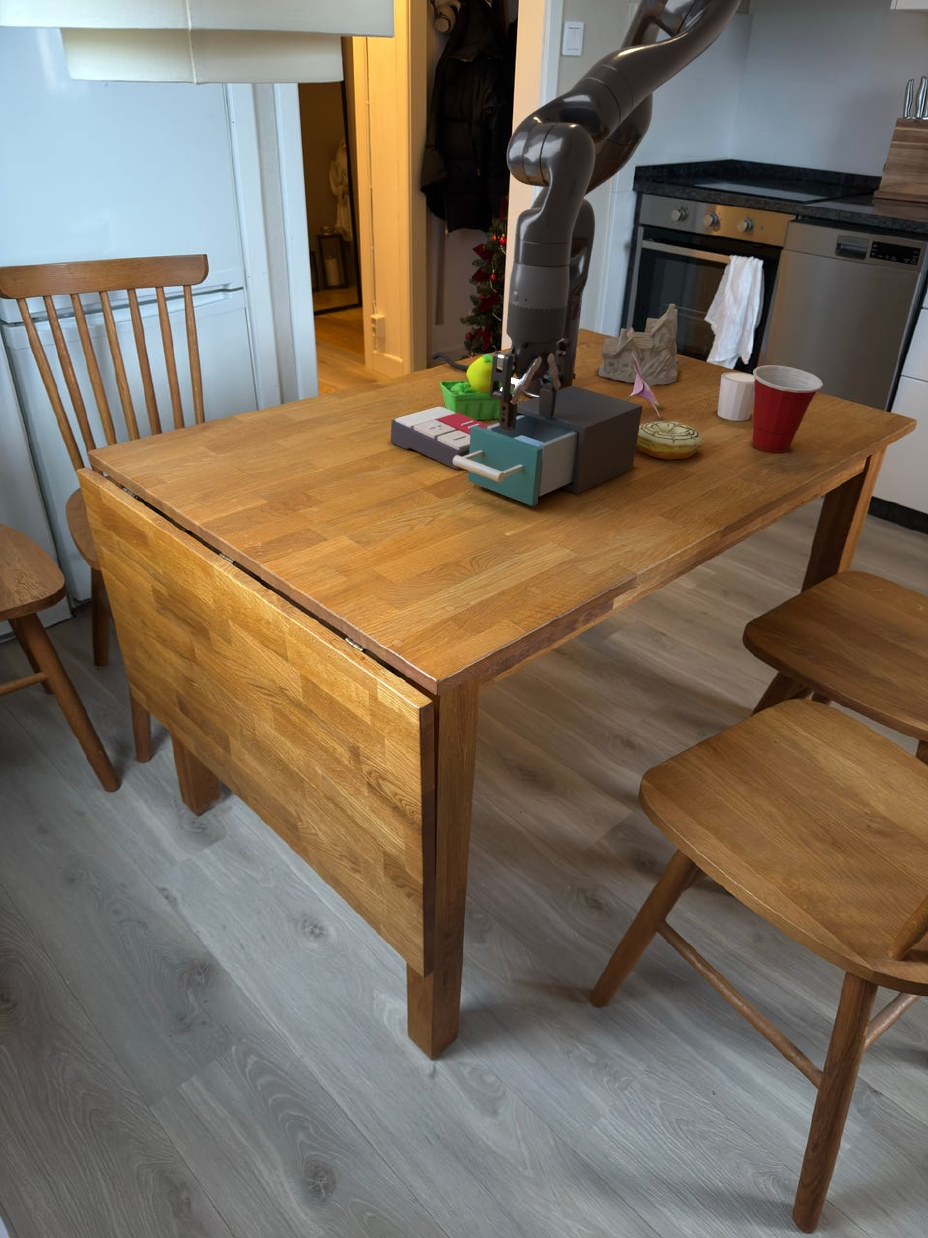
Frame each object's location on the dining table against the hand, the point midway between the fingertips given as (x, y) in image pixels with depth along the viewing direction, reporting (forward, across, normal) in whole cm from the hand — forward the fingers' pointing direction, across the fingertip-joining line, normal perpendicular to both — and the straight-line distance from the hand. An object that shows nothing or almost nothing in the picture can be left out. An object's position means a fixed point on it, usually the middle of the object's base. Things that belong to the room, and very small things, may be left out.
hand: (527, 422), depth 122 cm
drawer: (+9, -1, 0) cm, 9 cm away
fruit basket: (+10, +19, +25) cm, 33 cm away
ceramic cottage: (+10, +65, +21) cm, 69 cm away
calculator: (+10, +4, +18) cm, 21 cm away
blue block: (+8, 0, 0) cm, 8 cm away
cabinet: (+10, +12, 0) cm, 16 cm away
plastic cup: (+10, +45, -17) cm, 49 cm away
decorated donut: (+10, +30, -6) cm, 32 cm away
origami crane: (+10, +43, +7) cm, 45 cm away
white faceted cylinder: (+10, +55, -5) cm, 56 cm away
